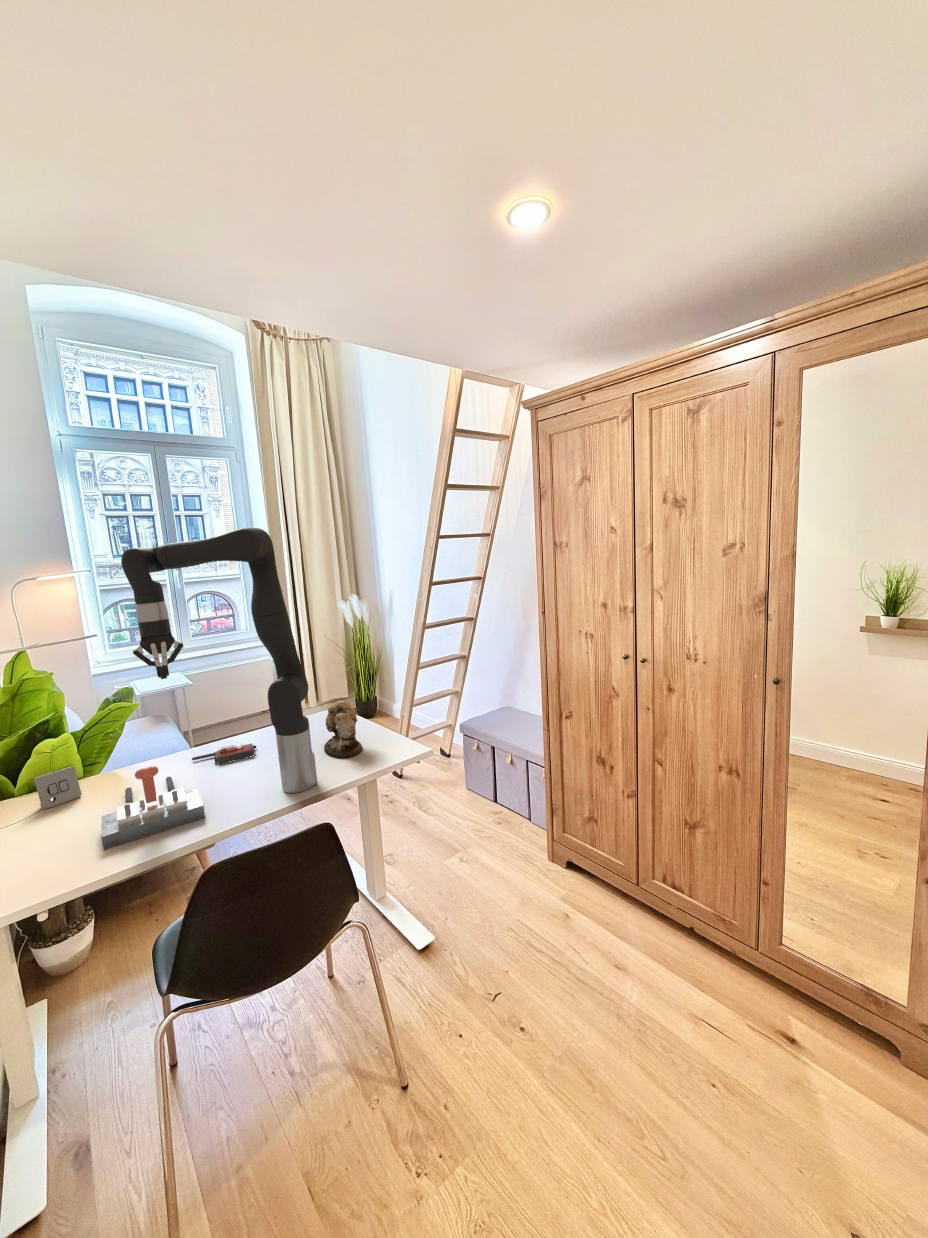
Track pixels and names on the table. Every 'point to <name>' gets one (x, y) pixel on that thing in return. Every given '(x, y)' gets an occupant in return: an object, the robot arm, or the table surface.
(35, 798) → the table surface
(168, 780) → the grey upright pegs
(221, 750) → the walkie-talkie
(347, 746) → the brown figurine
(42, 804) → the electrical switch
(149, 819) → the breaker panel
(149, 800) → the breaker lever
